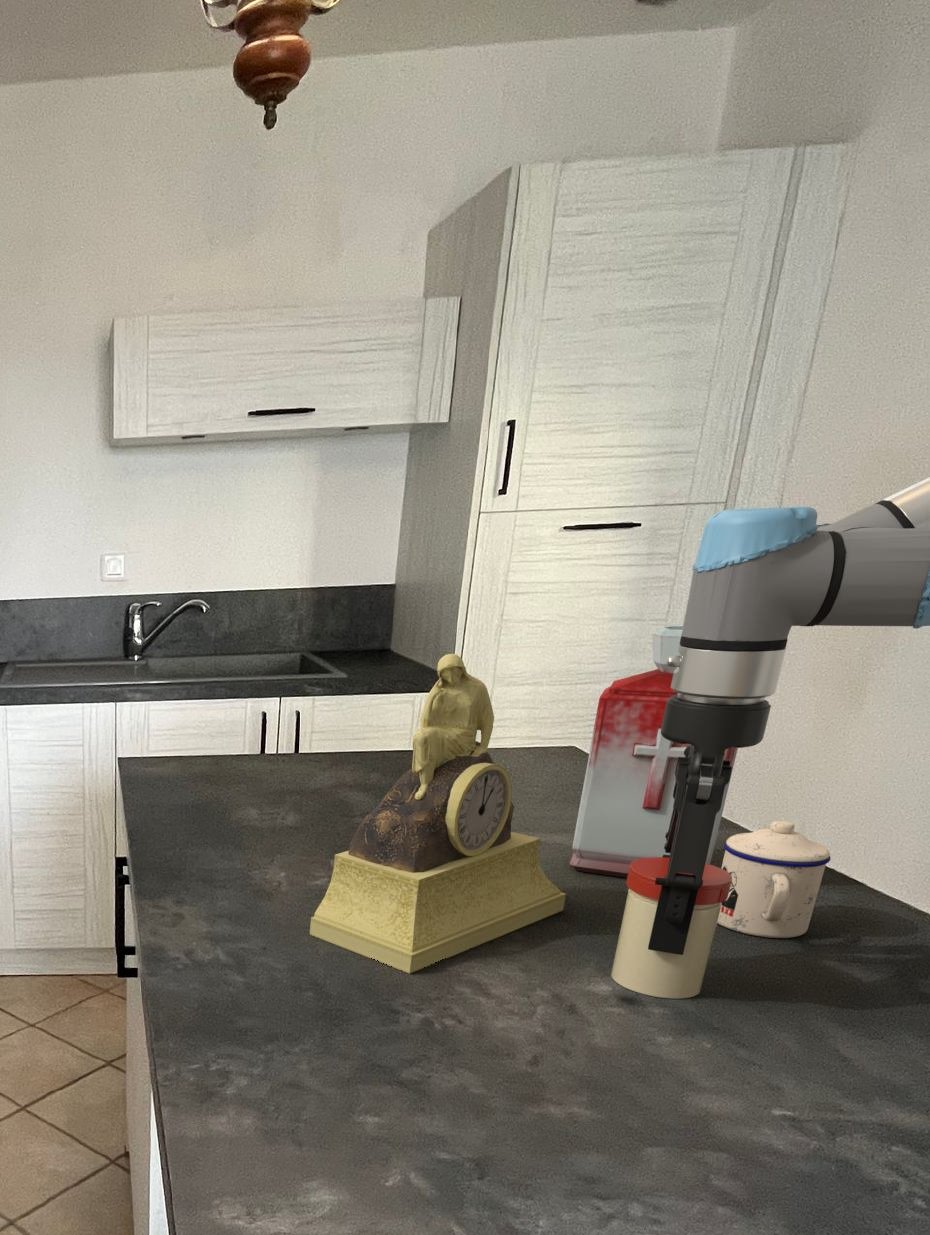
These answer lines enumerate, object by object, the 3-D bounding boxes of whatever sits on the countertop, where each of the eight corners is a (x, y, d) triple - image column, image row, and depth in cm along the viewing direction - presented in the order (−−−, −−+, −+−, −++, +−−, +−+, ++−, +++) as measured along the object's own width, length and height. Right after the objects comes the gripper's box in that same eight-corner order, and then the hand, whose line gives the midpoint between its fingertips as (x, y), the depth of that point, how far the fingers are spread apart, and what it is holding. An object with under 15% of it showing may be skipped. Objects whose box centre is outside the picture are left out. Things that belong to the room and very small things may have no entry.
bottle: (566, 873, 124) (610, 631, 113) (576, 851, 132) (618, 622, 121) (704, 893, 116) (765, 634, 106) (705, 868, 124) (763, 624, 113)
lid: (749, 896, 90) (754, 877, 89) (688, 911, 87) (693, 891, 87) (664, 870, 97) (668, 852, 96) (606, 883, 94) (610, 864, 94)
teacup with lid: (702, 904, 113) (725, 807, 109) (801, 915, 109) (828, 815, 105) (714, 942, 103) (740, 837, 99) (822, 956, 99) (854, 848, 95)
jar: (700, 975, 96) (724, 874, 93) (700, 1005, 91) (726, 899, 87) (613, 960, 100) (633, 863, 97) (608, 988, 95) (629, 886, 91)
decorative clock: (409, 973, 99) (446, 674, 89) (309, 934, 109) (331, 662, 99) (563, 910, 113) (611, 645, 102) (461, 880, 123) (495, 636, 113)
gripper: (668, 677, 96) (623, 893, 104) (667, 714, 79) (615, 967, 88) (763, 680, 92) (709, 905, 100) (783, 720, 76) (717, 984, 84)
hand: (665, 934), depth 94 cm, fingers closed on lid, 8 cm apart
